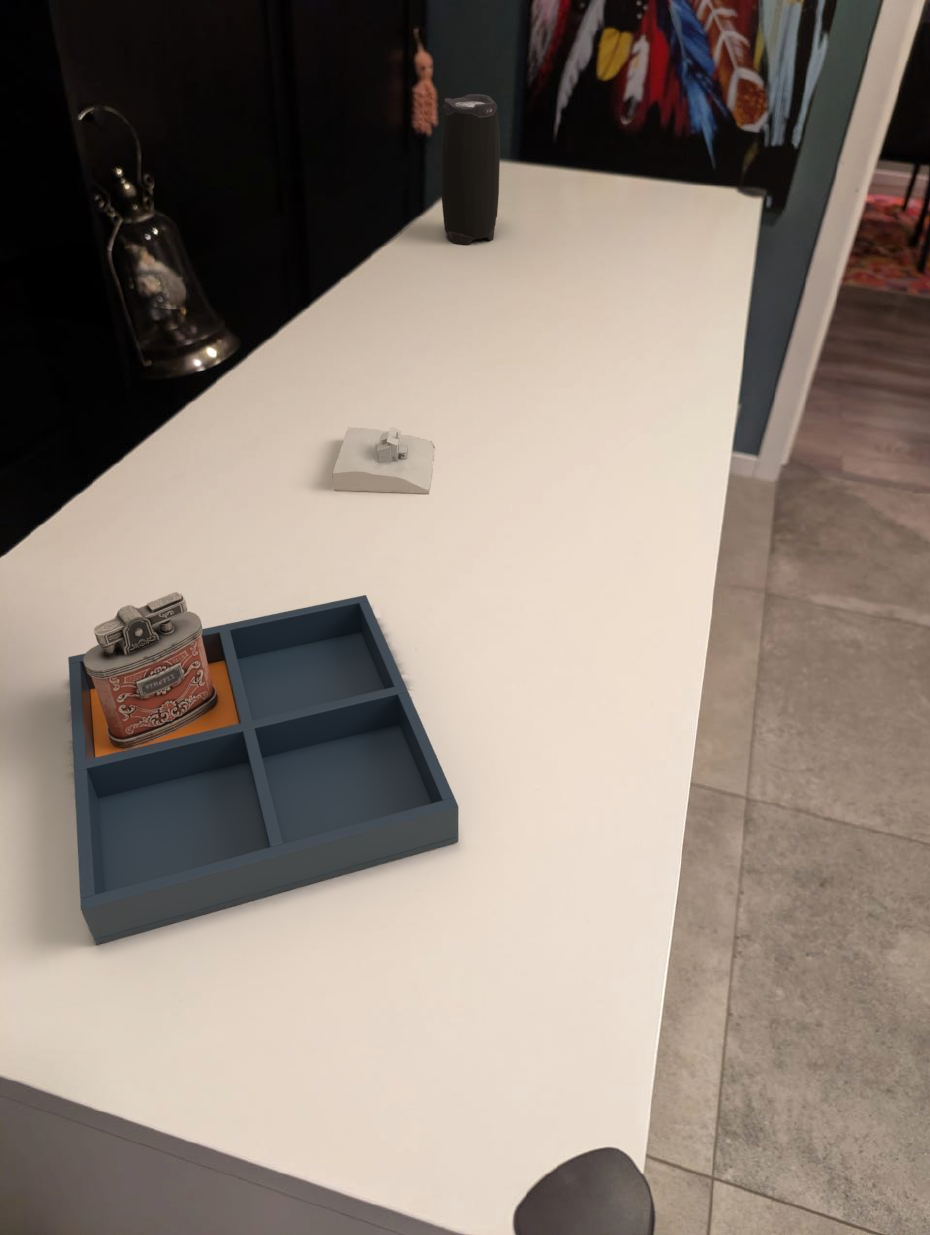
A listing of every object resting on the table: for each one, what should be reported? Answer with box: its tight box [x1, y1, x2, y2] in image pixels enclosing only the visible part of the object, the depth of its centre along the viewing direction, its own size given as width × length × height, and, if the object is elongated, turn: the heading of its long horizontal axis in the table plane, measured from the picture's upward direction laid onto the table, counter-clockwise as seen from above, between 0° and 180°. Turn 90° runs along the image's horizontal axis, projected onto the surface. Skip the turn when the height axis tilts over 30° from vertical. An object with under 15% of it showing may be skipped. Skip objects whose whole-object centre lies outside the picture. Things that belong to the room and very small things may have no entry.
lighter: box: [83, 591, 218, 749], centre depth 66 cm, size 8×3×10 cm, turn 128°
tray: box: [67, 594, 459, 946], centre depth 66 cm, size 22×22×4 cm
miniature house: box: [331, 426, 436, 495], centre depth 96 cm, size 12×11×4 cm
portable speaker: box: [440, 93, 501, 246], centre depth 145 cm, size 9×9×20 cm
